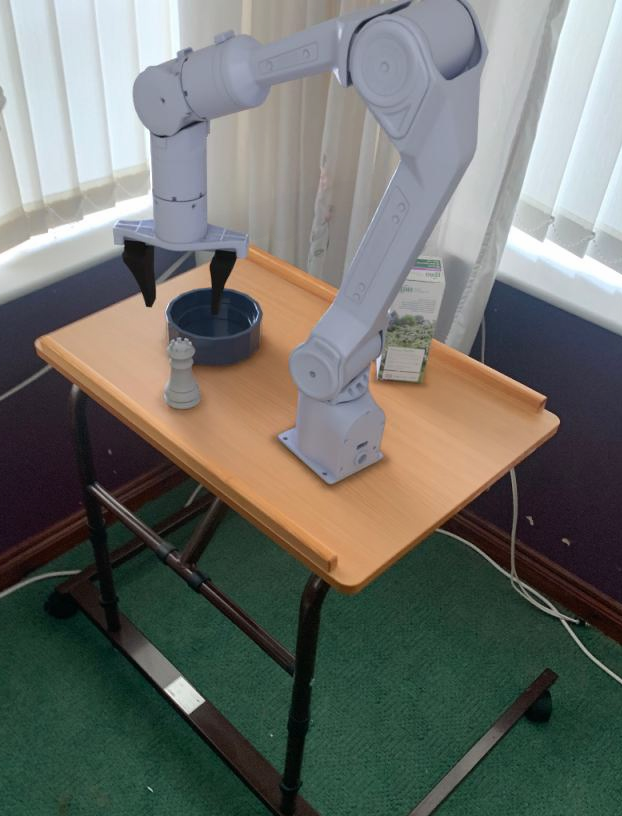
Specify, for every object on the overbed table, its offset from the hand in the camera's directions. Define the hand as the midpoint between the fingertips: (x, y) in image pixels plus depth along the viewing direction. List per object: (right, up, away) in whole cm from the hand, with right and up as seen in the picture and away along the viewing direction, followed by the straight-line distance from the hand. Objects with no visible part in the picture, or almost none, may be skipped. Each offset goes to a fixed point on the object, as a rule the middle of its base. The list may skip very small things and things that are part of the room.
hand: (183, 306), depth 91 cm
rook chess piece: (0, -10, +4) cm, 11 cm away
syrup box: (+27, -6, +9) cm, 29 cm away
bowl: (+3, -1, +13) cm, 13 cm away
